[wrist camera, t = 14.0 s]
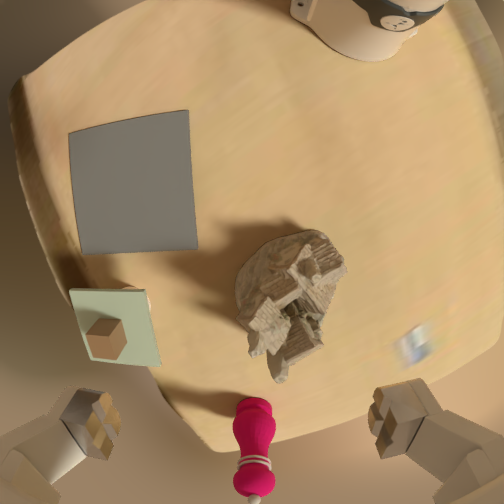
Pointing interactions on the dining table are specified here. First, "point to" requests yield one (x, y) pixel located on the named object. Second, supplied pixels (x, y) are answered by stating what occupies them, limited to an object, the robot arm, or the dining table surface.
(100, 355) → the lid
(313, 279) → the ceramic cottage
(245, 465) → the pepper mill
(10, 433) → the robot arm
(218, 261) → the dining table surface
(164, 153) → the mat
